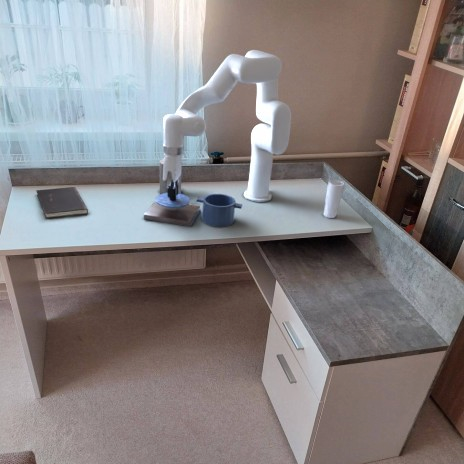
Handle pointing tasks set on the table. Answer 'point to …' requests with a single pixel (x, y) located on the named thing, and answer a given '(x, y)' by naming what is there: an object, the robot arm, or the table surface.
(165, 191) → the pillar candle
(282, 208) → the table surface
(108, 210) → the table surface
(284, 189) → the table surface
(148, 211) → the board
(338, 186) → the white cylinder
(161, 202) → the lid
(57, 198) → the hardcover book
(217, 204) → the pot
